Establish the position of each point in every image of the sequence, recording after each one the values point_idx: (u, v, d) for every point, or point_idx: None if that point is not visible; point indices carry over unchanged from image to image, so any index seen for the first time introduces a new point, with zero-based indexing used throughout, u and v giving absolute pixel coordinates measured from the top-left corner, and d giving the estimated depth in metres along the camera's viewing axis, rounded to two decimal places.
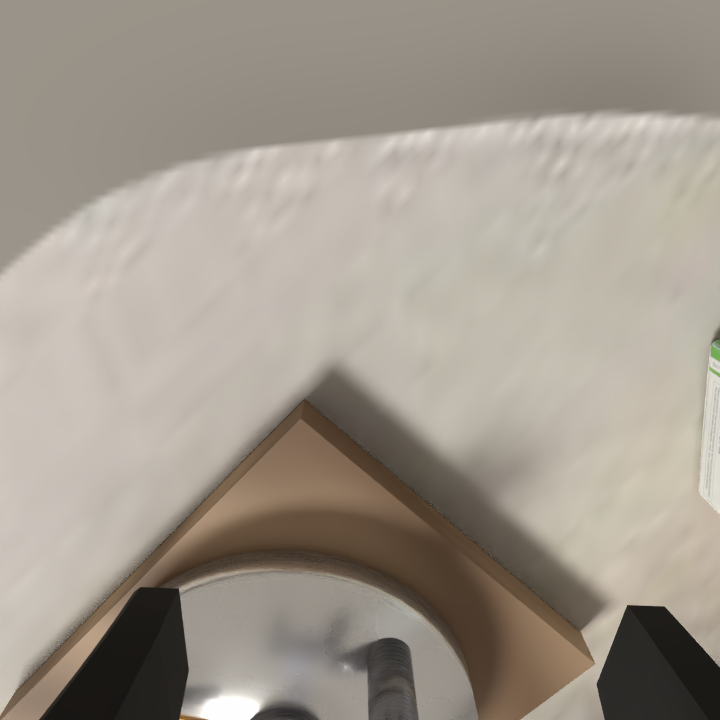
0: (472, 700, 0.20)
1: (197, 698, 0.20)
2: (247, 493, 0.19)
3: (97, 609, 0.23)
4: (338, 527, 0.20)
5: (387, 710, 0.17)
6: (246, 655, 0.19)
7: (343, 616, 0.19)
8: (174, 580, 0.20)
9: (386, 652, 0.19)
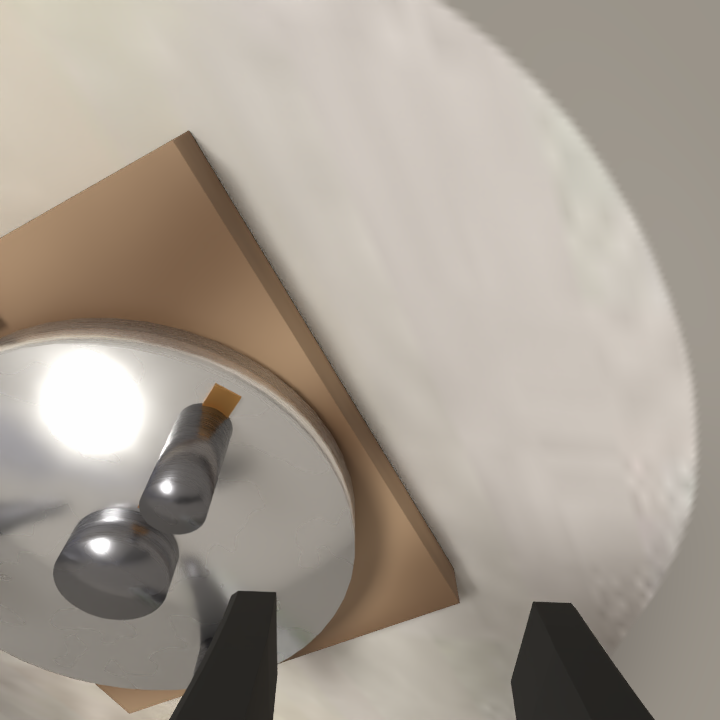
0: (146, 689, 0.20)
1: (215, 496, 0.17)
2: (409, 549, 0.20)
3: (300, 315, 0.17)
4: None
5: None
6: (261, 555, 0.18)
7: (280, 633, 0.19)
8: (350, 481, 0.18)
9: None
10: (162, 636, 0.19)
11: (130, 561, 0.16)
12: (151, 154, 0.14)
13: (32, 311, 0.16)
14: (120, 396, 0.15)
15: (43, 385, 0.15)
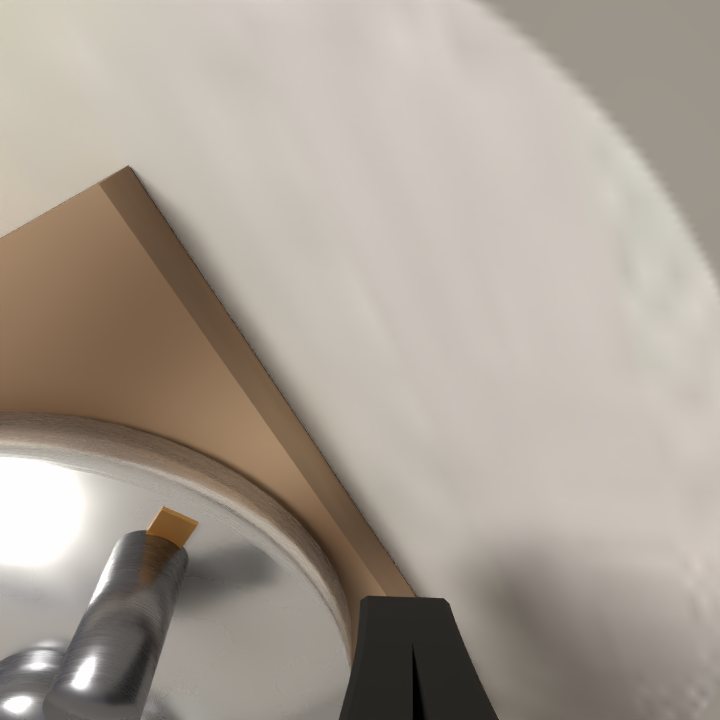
0: None
1: (169, 637, 0.13)
2: None
3: (281, 395, 0.14)
4: None
5: None
6: (231, 700, 0.14)
7: None
8: (345, 603, 0.14)
9: None
10: None
11: None
12: (70, 202, 0.10)
13: None
14: (36, 522, 0.11)
15: None
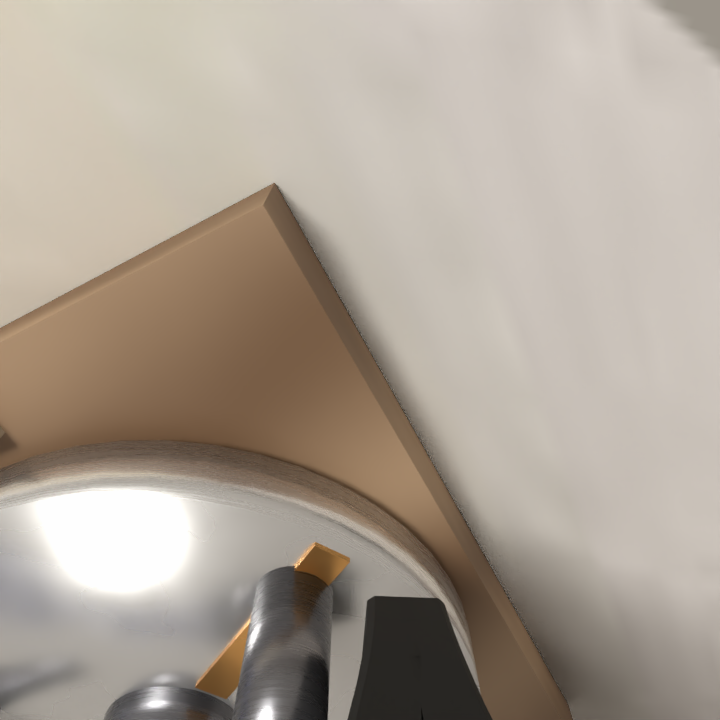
0: None
1: None
2: (530, 702, 0.16)
3: (407, 419, 0.13)
4: None
5: None
6: None
7: None
8: None
9: None
10: None
11: None
12: (230, 223, 0.10)
13: (54, 428, 0.12)
14: (179, 557, 0.11)
15: (71, 545, 0.10)
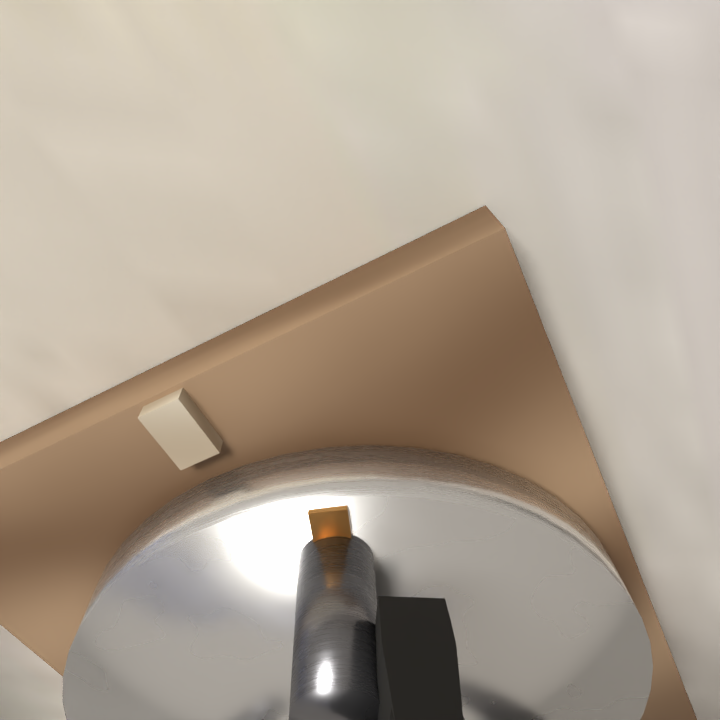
0: None
1: None
2: (663, 684, 0.17)
3: None
4: None
5: None
6: (511, 650, 0.13)
7: (603, 715, 0.14)
8: (557, 504, 0.13)
9: None
10: None
11: None
12: (471, 245, 0.11)
13: (269, 436, 0.12)
14: (227, 583, 0.12)
15: (149, 618, 0.12)
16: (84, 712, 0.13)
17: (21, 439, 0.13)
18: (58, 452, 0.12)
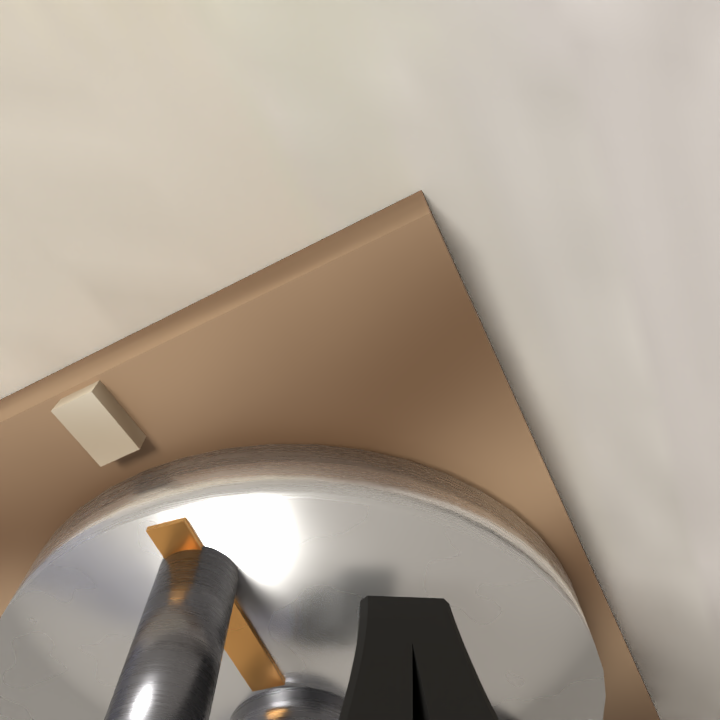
0: None
1: (302, 626, 0.12)
2: (629, 701, 0.16)
3: None
4: None
5: None
6: None
7: (559, 701, 0.13)
8: (443, 480, 0.12)
9: None
10: None
11: None
12: (395, 231, 0.10)
13: (195, 432, 0.12)
14: (102, 610, 0.11)
15: (43, 653, 0.12)
16: None
17: None
18: None
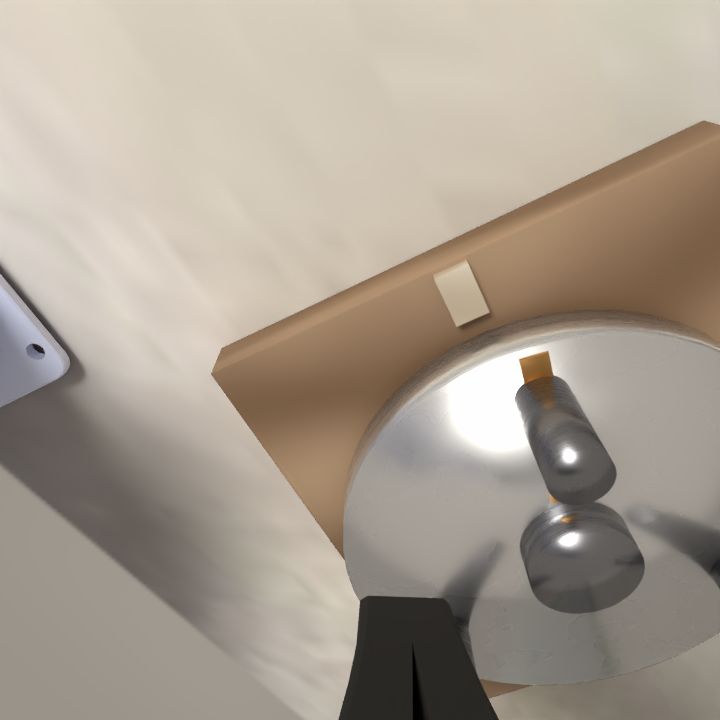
0: (698, 643, 0.19)
1: (603, 445, 0.16)
2: None
3: None
4: None
5: None
6: (690, 462, 0.16)
7: None
8: (709, 337, 0.16)
9: None
10: (669, 591, 0.18)
11: (586, 547, 0.16)
12: (709, 143, 0.14)
13: (523, 302, 0.16)
14: (461, 431, 0.16)
15: (405, 469, 0.16)
16: (359, 558, 0.18)
17: (313, 311, 0.17)
18: (360, 313, 0.16)
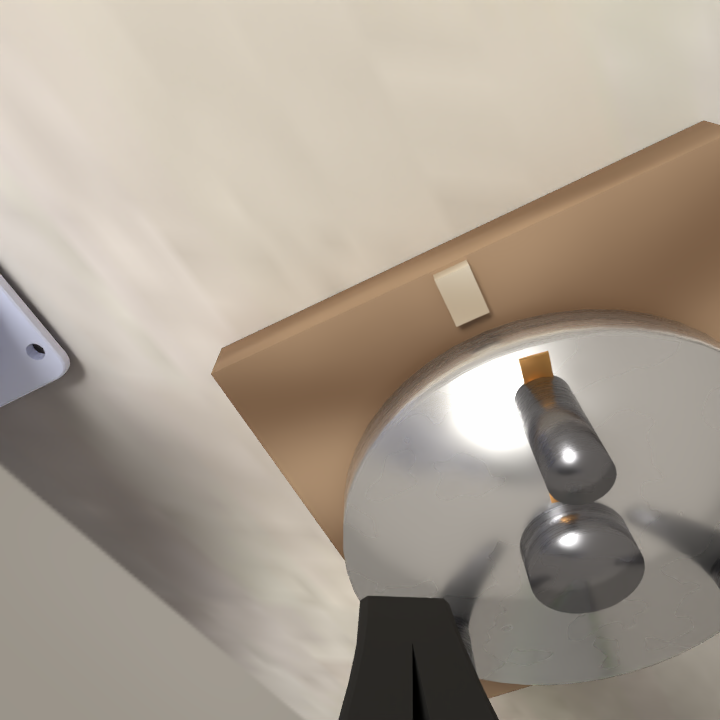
0: (698, 643, 0.19)
1: (603, 445, 0.16)
2: None
3: None
4: None
5: None
6: (690, 462, 0.16)
7: None
8: (709, 337, 0.16)
9: None
10: (669, 591, 0.18)
11: (586, 547, 0.16)
12: (709, 143, 0.14)
13: (523, 302, 0.16)
14: (461, 431, 0.16)
15: (405, 469, 0.16)
16: (359, 558, 0.18)
17: (313, 311, 0.17)
18: (360, 313, 0.16)
